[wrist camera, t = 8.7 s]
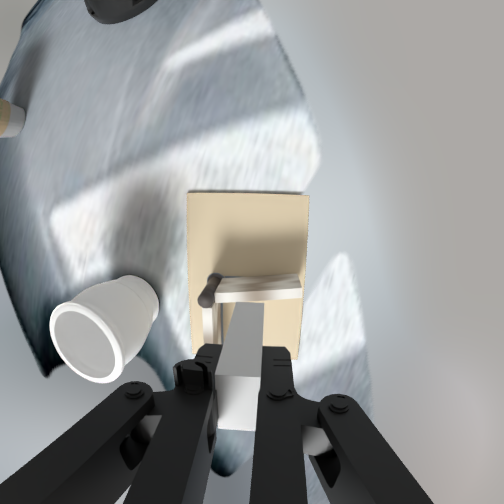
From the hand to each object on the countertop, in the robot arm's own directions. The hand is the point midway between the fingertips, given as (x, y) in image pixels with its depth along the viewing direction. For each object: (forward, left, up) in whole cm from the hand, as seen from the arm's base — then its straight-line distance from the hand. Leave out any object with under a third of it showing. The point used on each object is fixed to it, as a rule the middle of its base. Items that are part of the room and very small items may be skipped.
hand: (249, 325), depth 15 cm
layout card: (+5, -2, -24) cm, 24 cm away
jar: (+9, -19, -24) cm, 32 cm away
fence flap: (+5, -1, -23) cm, 23 cm away
